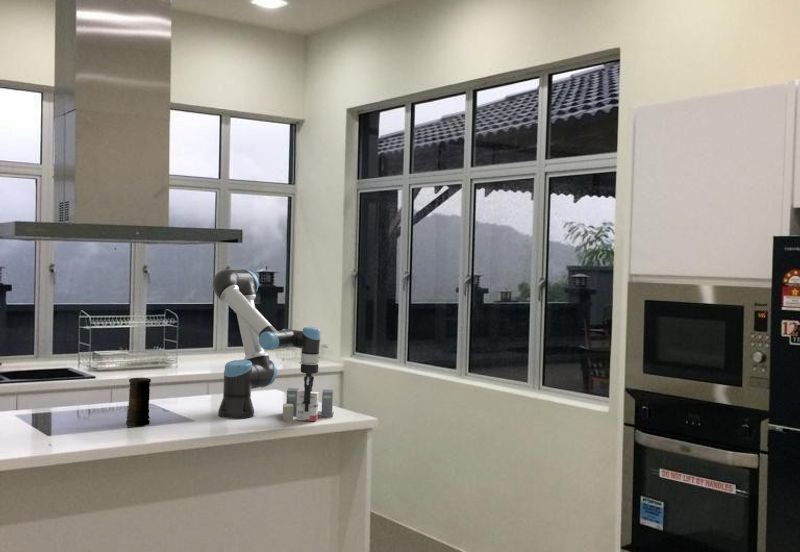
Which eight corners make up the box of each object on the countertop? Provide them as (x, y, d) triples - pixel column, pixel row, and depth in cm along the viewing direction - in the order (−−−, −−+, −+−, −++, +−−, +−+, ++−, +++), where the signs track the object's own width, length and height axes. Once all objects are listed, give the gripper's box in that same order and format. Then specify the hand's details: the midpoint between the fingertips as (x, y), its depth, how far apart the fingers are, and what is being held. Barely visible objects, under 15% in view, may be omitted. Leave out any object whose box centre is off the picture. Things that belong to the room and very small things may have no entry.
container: (125, 421, 320) (127, 377, 320) (149, 421, 323) (150, 377, 323) (126, 426, 312) (128, 381, 311) (150, 425, 315) (152, 380, 314)
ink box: (317, 418, 342) (319, 391, 341) (315, 421, 337) (317, 393, 336) (298, 417, 343) (299, 390, 342) (295, 419, 338) (297, 392, 337)
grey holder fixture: (284, 415, 347) (285, 390, 346) (286, 412, 355) (287, 387, 354) (332, 417, 347) (333, 392, 347) (333, 414, 355) (334, 389, 355)
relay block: (283, 420, 337) (284, 406, 337) (282, 417, 343) (283, 403, 343) (292, 420, 338) (293, 406, 338) (291, 417, 344) (292, 403, 344)
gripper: (317, 367, 330) (314, 422, 331) (319, 360, 348) (317, 413, 349) (299, 366, 330) (296, 421, 330) (302, 360, 348) (299, 412, 349)
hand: (306, 417), depth 340 cm, fingers closed on ink box, 5 cm apart
